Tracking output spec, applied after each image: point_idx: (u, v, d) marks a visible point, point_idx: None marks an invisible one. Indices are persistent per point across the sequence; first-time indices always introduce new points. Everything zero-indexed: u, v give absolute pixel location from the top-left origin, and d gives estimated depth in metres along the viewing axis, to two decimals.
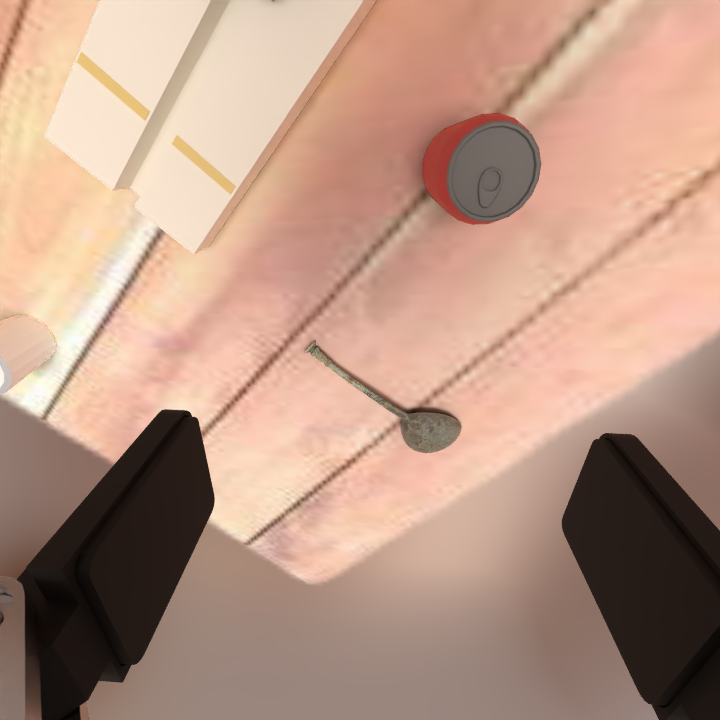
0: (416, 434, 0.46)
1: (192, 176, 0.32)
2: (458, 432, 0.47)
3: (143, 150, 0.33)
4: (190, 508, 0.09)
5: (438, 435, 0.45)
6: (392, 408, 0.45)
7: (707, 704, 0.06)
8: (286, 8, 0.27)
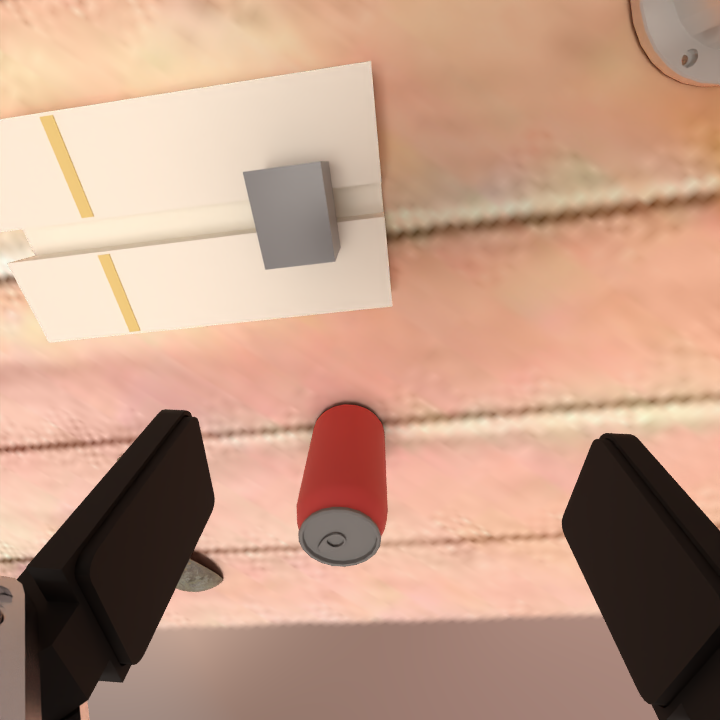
0: None
1: (99, 292, 0.27)
2: (216, 585, 0.47)
3: None
4: (190, 508, 0.09)
5: (194, 586, 0.45)
6: None
7: (707, 704, 0.06)
8: None
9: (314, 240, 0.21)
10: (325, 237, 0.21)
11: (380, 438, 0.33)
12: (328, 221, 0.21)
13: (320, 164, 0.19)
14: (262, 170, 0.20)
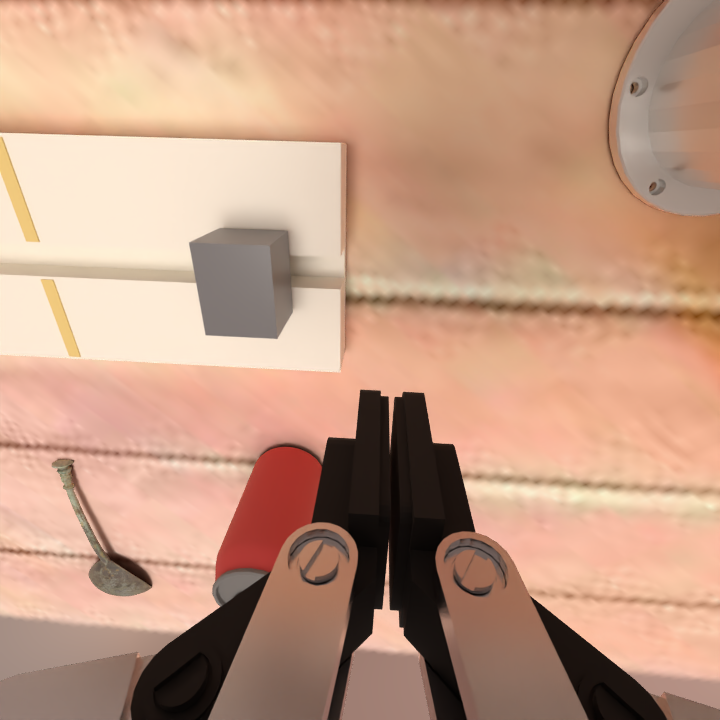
0: (101, 580, 0.44)
1: (40, 314, 0.26)
2: None
3: None
4: None
5: (120, 592, 0.44)
6: (99, 551, 0.42)
7: (405, 598, 0.07)
8: None
9: (257, 316, 0.21)
10: (269, 315, 0.21)
11: (317, 488, 0.33)
12: (273, 301, 0.20)
13: (269, 248, 0.19)
14: (209, 244, 0.19)
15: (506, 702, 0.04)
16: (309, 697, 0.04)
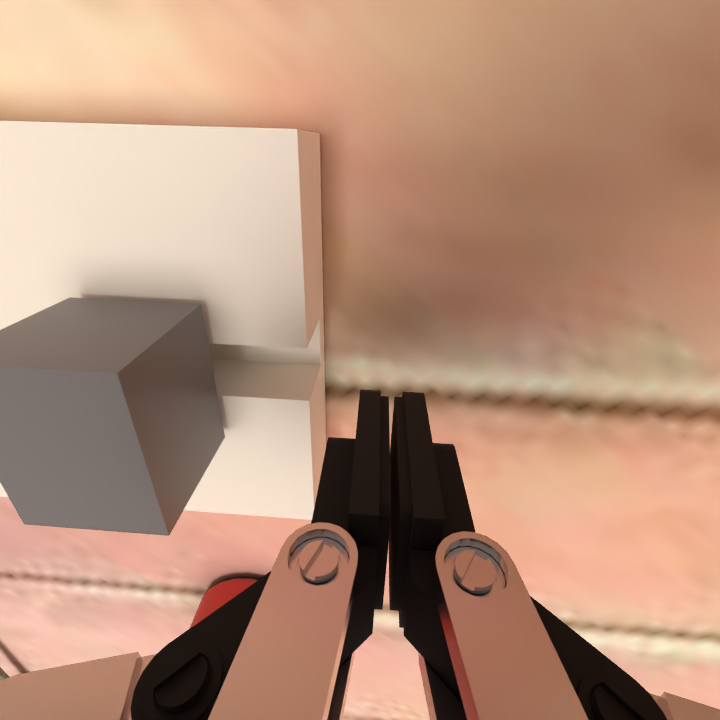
0: None
1: None
2: None
3: None
4: None
5: None
6: None
7: (405, 598, 0.07)
8: None
9: (120, 499, 0.10)
10: (144, 498, 0.10)
11: None
12: (148, 476, 0.09)
13: (120, 376, 0.08)
14: None
15: (506, 702, 0.04)
16: (309, 697, 0.04)
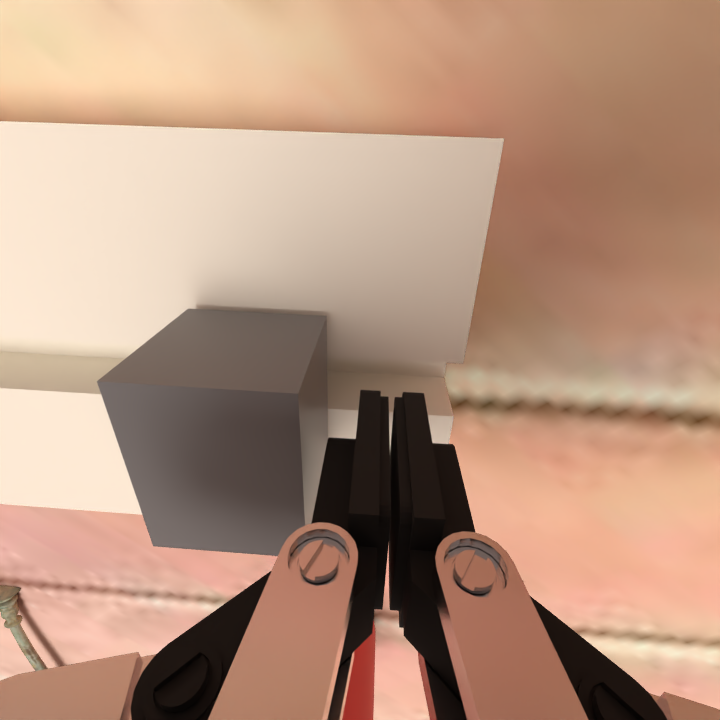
0: None
1: None
2: None
3: None
4: None
5: None
6: None
7: (405, 598, 0.07)
8: None
9: (265, 522, 0.09)
10: (291, 520, 0.09)
11: (370, 666, 0.22)
12: (301, 498, 0.09)
13: (298, 397, 0.08)
14: (148, 386, 0.08)
15: (506, 702, 0.04)
16: (309, 697, 0.04)
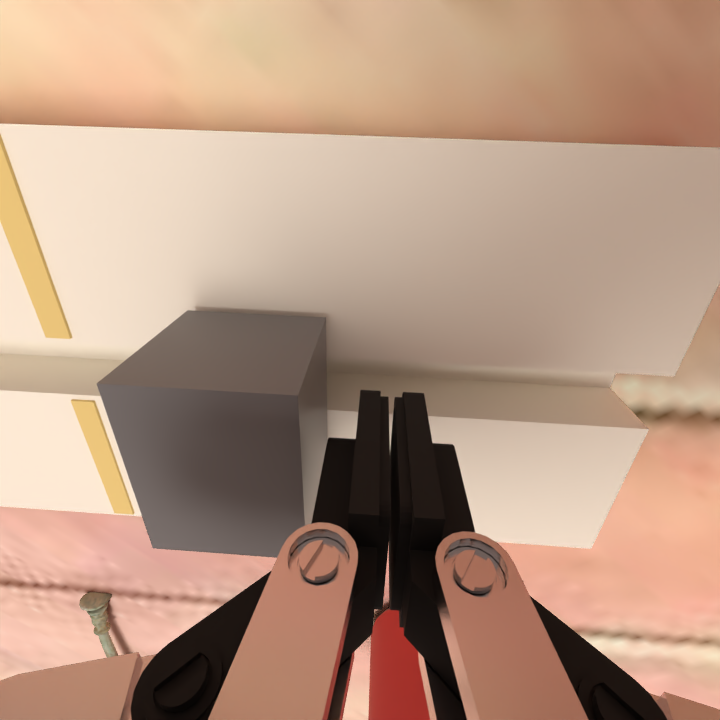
0: None
1: (67, 451, 0.15)
2: None
3: None
4: None
5: None
6: None
7: (405, 598, 0.07)
8: None
9: (265, 524, 0.09)
10: (291, 522, 0.09)
11: None
12: (301, 499, 0.09)
13: (297, 398, 0.08)
14: (148, 388, 0.08)
15: (506, 702, 0.04)
16: (309, 697, 0.04)
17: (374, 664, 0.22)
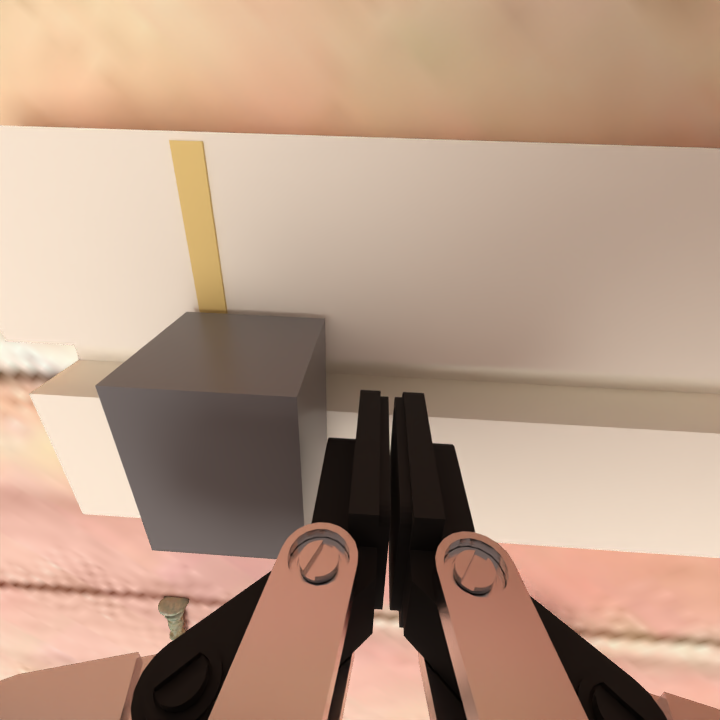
0: None
1: None
2: None
3: None
4: None
5: None
6: None
7: (405, 598, 0.07)
8: (581, 477, 0.14)
9: (264, 525, 0.09)
10: (290, 524, 0.09)
11: None
12: (301, 501, 0.09)
13: (296, 400, 0.08)
14: (146, 390, 0.08)
15: (506, 702, 0.04)
16: (309, 697, 0.04)
17: None
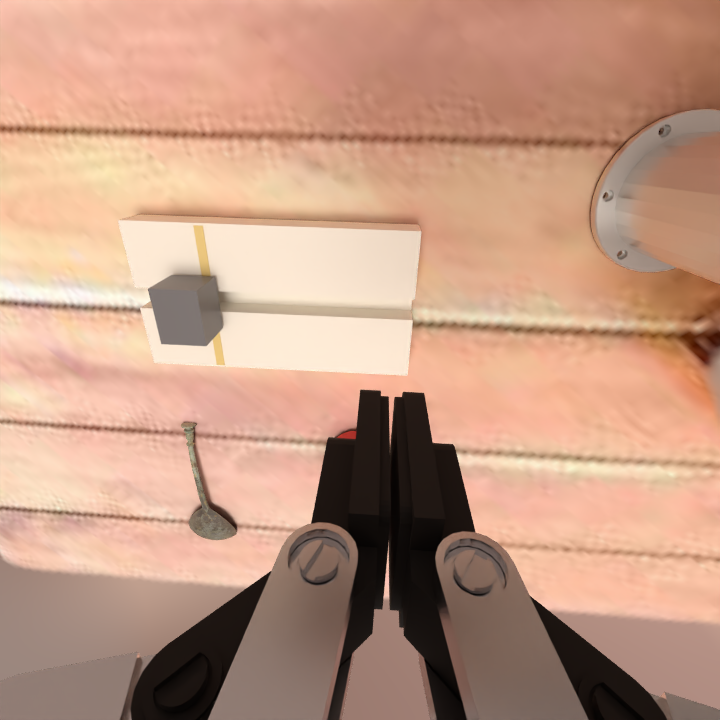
0: (201, 524, 0.54)
1: None
2: (229, 537, 0.57)
3: None
4: None
5: (215, 535, 0.55)
6: (203, 499, 0.52)
7: (405, 598, 0.07)
8: (341, 338, 0.38)
9: (192, 332, 0.33)
10: (200, 331, 0.33)
11: None
12: (201, 323, 0.33)
13: (196, 292, 0.31)
14: (160, 289, 0.31)
15: (506, 702, 0.04)
16: (309, 697, 0.04)
17: None
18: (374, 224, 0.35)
